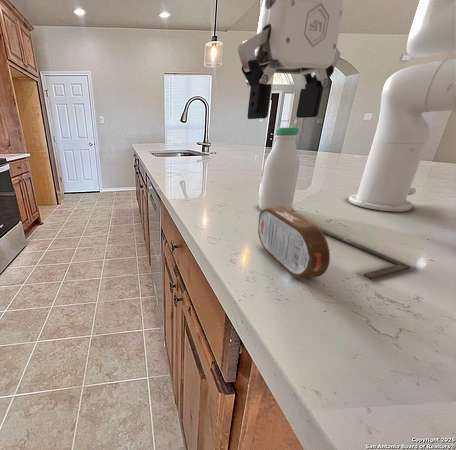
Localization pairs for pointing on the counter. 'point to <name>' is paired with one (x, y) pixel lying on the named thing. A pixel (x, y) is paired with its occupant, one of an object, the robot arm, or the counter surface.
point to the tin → (293, 242)
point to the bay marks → (377, 273)
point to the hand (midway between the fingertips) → (282, 117)
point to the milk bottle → (280, 171)
